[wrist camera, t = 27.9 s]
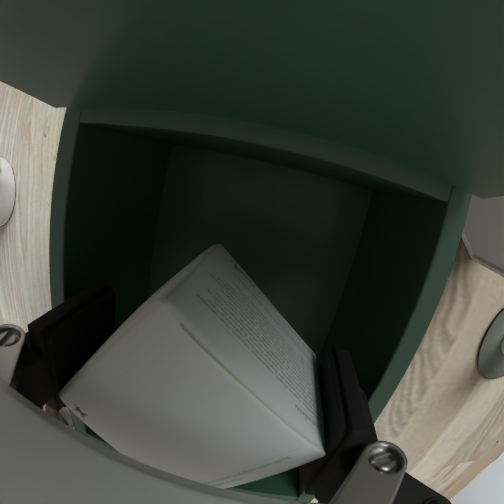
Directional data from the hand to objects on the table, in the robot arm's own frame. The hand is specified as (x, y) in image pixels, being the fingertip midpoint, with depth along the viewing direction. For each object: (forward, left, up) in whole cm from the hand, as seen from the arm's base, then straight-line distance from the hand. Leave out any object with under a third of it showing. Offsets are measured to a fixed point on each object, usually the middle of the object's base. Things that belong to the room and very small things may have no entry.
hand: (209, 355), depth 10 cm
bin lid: (-9, 0, +10) cm, 13 cm away
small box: (0, 0, -1) cm, 1 cm away
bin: (0, 0, -8) cm, 8 cm away
